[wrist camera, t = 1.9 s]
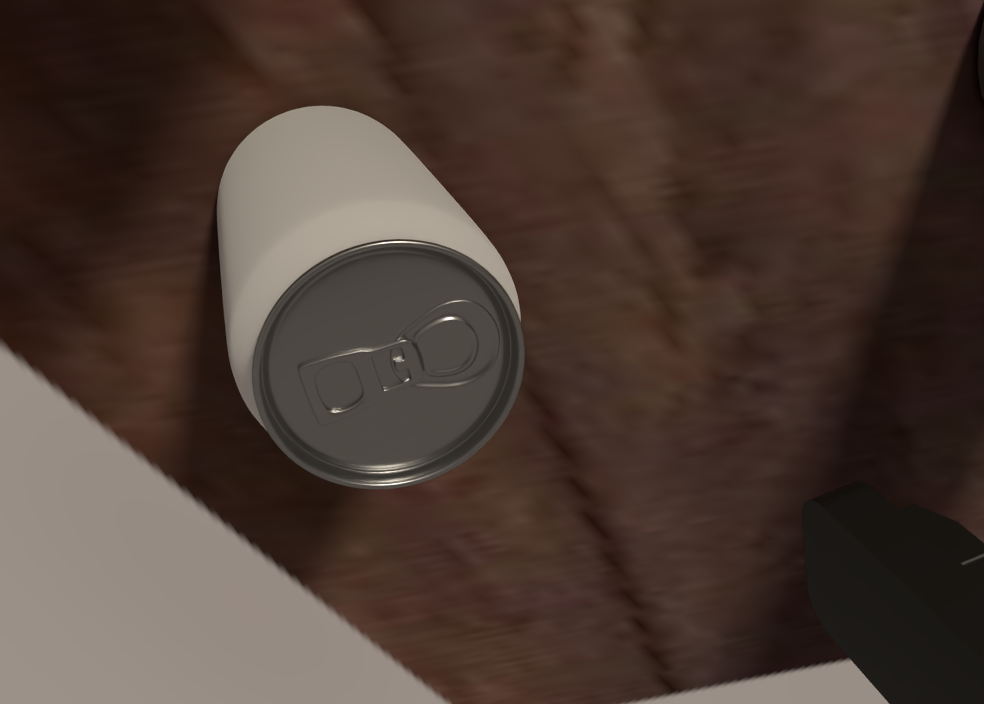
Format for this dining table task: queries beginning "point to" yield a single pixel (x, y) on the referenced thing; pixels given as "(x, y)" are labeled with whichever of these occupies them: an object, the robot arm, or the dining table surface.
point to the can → (362, 303)
